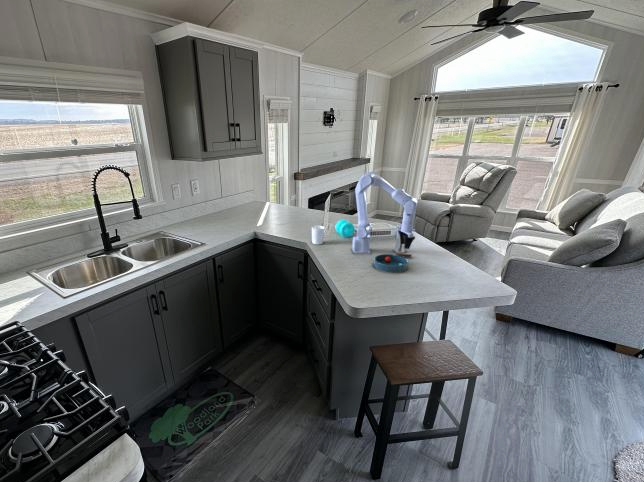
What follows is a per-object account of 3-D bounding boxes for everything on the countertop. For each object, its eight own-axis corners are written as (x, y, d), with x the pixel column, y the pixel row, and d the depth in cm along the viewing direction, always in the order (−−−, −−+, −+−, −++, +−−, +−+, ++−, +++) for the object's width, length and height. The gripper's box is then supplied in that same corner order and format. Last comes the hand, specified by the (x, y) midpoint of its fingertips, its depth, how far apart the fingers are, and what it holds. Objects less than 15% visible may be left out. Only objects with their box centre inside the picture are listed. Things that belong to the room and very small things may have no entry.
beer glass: (406, 253, 184) (410, 227, 178) (393, 253, 185) (397, 227, 179) (404, 249, 190) (408, 224, 184) (392, 248, 191) (395, 224, 185)
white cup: (310, 241, 208) (310, 226, 204) (322, 240, 209) (323, 225, 205) (312, 245, 201) (313, 229, 197) (325, 244, 202) (326, 229, 198)
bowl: (377, 273, 162) (378, 266, 160) (370, 260, 176) (371, 254, 175) (410, 273, 160) (412, 266, 159) (401, 260, 175) (402, 254, 174)
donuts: (340, 238, 210) (341, 223, 206) (334, 234, 219) (335, 219, 215) (354, 237, 212) (355, 222, 208) (348, 232, 221) (349, 218, 217)
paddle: (395, 258, 178) (396, 254, 177) (395, 257, 180) (395, 253, 179) (410, 258, 178) (411, 254, 177) (410, 257, 179) (410, 253, 178)
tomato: (385, 263, 171) (386, 258, 170) (384, 261, 174) (384, 255, 173) (391, 263, 171) (391, 258, 170) (389, 261, 174) (390, 255, 173)
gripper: (420, 225, 163) (416, 250, 169) (411, 217, 177) (408, 241, 182) (406, 225, 164) (402, 250, 169) (398, 218, 177) (395, 241, 183)
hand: (404, 246), depth 176 cm, fingers open, 7 cm apart
